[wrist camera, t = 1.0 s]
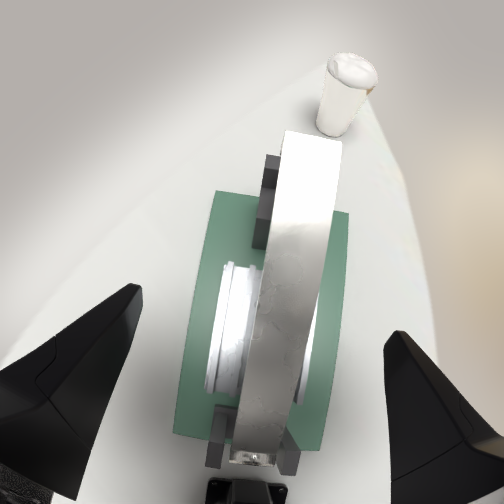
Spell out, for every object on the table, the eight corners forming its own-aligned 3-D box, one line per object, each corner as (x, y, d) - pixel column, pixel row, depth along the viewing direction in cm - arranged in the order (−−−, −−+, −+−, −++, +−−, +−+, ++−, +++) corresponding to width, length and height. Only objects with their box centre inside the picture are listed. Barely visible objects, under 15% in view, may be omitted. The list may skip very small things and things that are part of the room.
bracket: (279, 440, 20) (297, 481, 12) (211, 431, 20) (200, 471, 12) (284, 412, 20) (306, 445, 13) (215, 403, 20) (205, 434, 13)
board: (316, 447, 20) (319, 450, 19) (174, 430, 20) (172, 432, 19) (345, 216, 26) (348, 213, 25) (216, 194, 26) (215, 190, 25)
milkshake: (294, 122, 28) (314, 46, 19) (330, 104, 29) (355, 35, 20) (324, 152, 28) (357, 79, 18) (359, 132, 29) (395, 65, 19)
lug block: (296, 255, 24) (320, 221, 17) (251, 248, 24) (257, 210, 17) (301, 210, 25) (323, 164, 18) (258, 203, 25) (266, 154, 18)
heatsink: (298, 397, 21) (306, 405, 18) (205, 385, 21) (201, 392, 18) (314, 283, 23) (324, 276, 20) (225, 269, 23) (223, 260, 20)
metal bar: (270, 445, 15) (272, 470, 13) (230, 440, 15) (228, 466, 13) (330, 152, 14) (344, 140, 11) (281, 143, 14) (286, 128, 11)
